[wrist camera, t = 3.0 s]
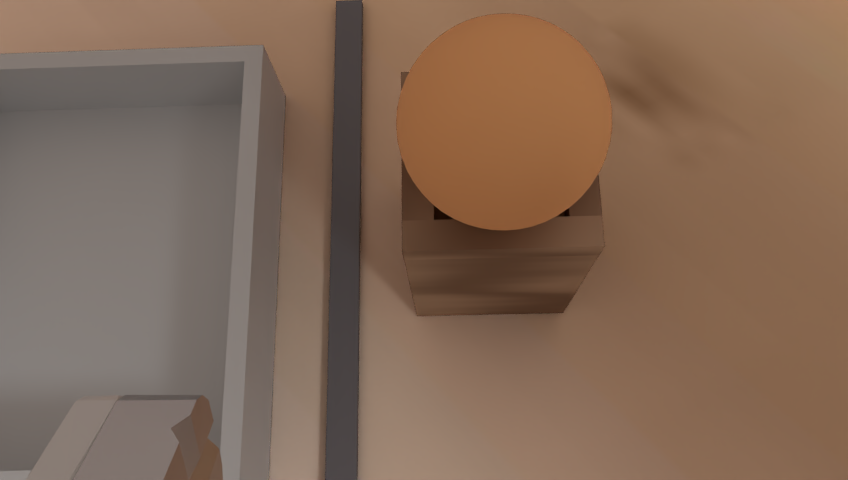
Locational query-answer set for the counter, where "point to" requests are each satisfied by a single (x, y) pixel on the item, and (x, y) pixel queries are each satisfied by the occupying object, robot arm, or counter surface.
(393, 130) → the counter surface
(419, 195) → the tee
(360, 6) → the line
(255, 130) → the tray
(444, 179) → the ball
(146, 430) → the robot arm
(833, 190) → the counter surface
